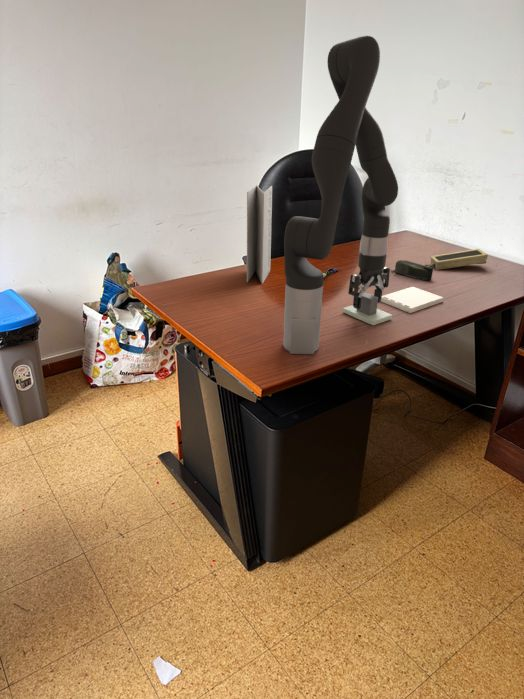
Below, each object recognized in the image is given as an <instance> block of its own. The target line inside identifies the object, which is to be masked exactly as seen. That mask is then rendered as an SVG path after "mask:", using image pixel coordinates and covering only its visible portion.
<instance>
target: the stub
mask: <svg viewBox="0 0 524 699" xmlns="http://www.w3.org/2000/svg"><path fill="white" fill-rule="evenodd" d="M361 297H362V300H361V308H360V309H356V308H354V307H353V304H352V305H349V306H348V305H347V306H345V307H343V308H342V313H344V314H346V315H349V316H350V317H353V318H355V319H358V320H360V321H361V322H364V323H367V324H369V325H370V326H376V325H379V324H381V323H384V322H387V321H390V320H392V318H393V315H392V314H391V313H388V312H387V311H383V310H382V309H379V308H378V304H379V303H378V297H376V296H374V294H372V293H371V294H370V293H368V292H366V291H364V293H363V294H362V296H361Z"/></svg>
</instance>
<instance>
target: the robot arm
mask: <svg viewBox="0 0 524 699" xmlns="http://www.w3.org/2000/svg"><path fill="white" fill-rule="evenodd" d="M327 55H328V56H327V70H328V74H329V78H330V81H331V82H332V85H333V88H334V90H335V92H336V96H337V98H338V101H337V103H336V105H334V107H333V108H332V110H331V111H330V113H329V114H328V115H327V117H326V118H325V120H324V121H323V122H322V124H321V126H320V128H319V130H318V133H317V135H316V137H315V138H316V139H315V142H314V146H313V149H312V150H313V151H312V155H311V166H312V171H313V175H314V178H315V180H316V183H317V185H318V189H319V191H320V197H321V208H320V215H319V218H316V217H315V218H314V217H310V216H309V217H307V216H299V215H298V216H296V215H295V216H292V217H291V218H290V219H289V220H288V221H287V222H286V226H285V231H284V238H283V239H284V240H283V248H284V249H283V250H284V251H283V252H284V275H285V287H284V288H285V290H284V291H285V294H284V315H283V316H284V318H283V320H284V321H283V340H282V342H283V344H282V345H283V346H282V347H283V348H284V350H286V351H287V352H289V354H291V355H293V354H294V355H315V352H317V350H319V347H320V346H319V345H320V337H321V336H320V334H321V333H320V332H321V319H322V308H323V307H322V306H323V295H324V294H323V292H324V291H323V290H324V281H325V280H324V279H325V277H324V274H323V272H322V271H321V270H320V268H316V267H315V266H314V265H313V264H311V262H309V260H308V259H313V260H318V261H322V260H325V259H327V257H328V256H330V253H331V250H332V248H333V245H334V240H335V235H336V230H337V224H338V219H339V213H340V206H341V202H342V198H343V194H344V189H345V185H346V182H347V178H348V174H349V172H350V171H349V170H350V167H351V163H352V162H353V161H352V160H353V157H354V156H353V155H354V152H355V149H356V152H357V153H356V154H357V156H358V162H359V166H360V168H361V169H362V171H364V172H365V173H366V175H367V179H366V180H365V181H364V183H363V187H362V190H361V204H362V205H361V206H362V214H363V223H362V232H361V233H362V234H361V237H360V241H359V242H360V243H359V252H358V262H357V266H358V267H359V272H358V274H355V273H354V274H353V273H351V274H350V276H349V277H350V279H349V285H348V295H349V296H350V295H351V296H352V297H353V300H352V305H353V307H354V308H356V309H360V308H361V300H362V297H361V296H362V294H363V293H364V292H366V291H367V290H368V288H371V287H372V286H373V287H374V291H373V295H374V296H376V297H378V304H379V303H382V302H381V298H382V296H383V291H384V290H385V288H388V287H389V284H390V273H391V268H389V267H388V266H386V263H387V254H388V247H389V233H390V232H389V231H390V230H389V229H390V221H391V220H390V216H389V214H388V213H387V211H386V207H387V206H391V205H392V204H393V203H394V202H395V201H396V199H397V197H398V194H399V186H398V183H399V182H398V180H397V177H396V174H395V172H394V170H393V168H392V164H391V163H390V161H389V159H388V153H387V148H386V143H385V138H384V135H383V131H382V129H381V127H380V125H379V123H378V122H377V121H376V119H375V118H374V117H373V115H372V114H371V112H370V111H369V110H368V109H367V107H366V106H367V103H368V101H369V100H368V99H369V98H370V95H371V92H372V89H373V87H374V83H375V80H376V77H377V75H378V71H379V67H380V62H381V50H380V45H379V43H378V41H377V40H376V38H375V37H373V36H371V35H362V36H358V37H354V38H350V39H347V40H345V41H341V42H338V43H336V44H334V45H333V46H332V47H331V48H330V50H329V51H328V54H327Z"/></svg>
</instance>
